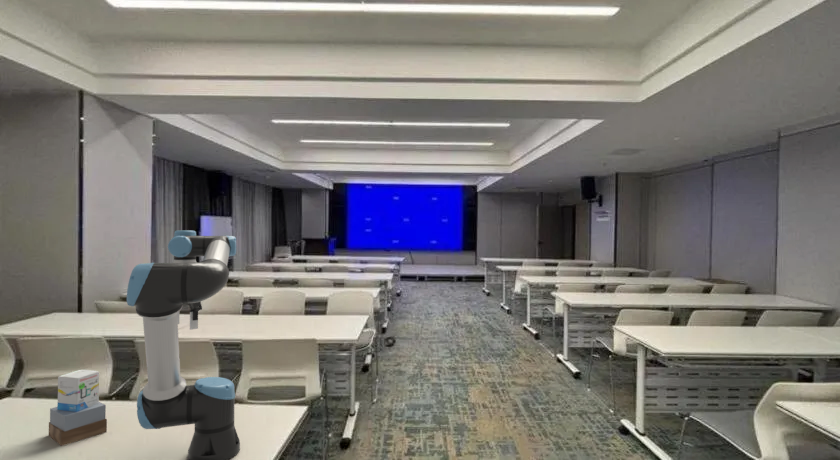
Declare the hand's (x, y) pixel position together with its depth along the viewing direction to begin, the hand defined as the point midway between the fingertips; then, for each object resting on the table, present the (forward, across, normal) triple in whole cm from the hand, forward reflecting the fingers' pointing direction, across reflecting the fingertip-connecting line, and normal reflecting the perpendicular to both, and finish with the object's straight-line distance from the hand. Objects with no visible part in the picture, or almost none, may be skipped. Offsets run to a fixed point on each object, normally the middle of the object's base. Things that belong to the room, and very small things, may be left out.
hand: (184, 326), depth 171 cm
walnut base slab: (+35, +16, +28) cm, 48 cm away
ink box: (+26, +16, +28) cm, 41 cm away
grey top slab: (+30, +16, +28) cm, 45 cm away
